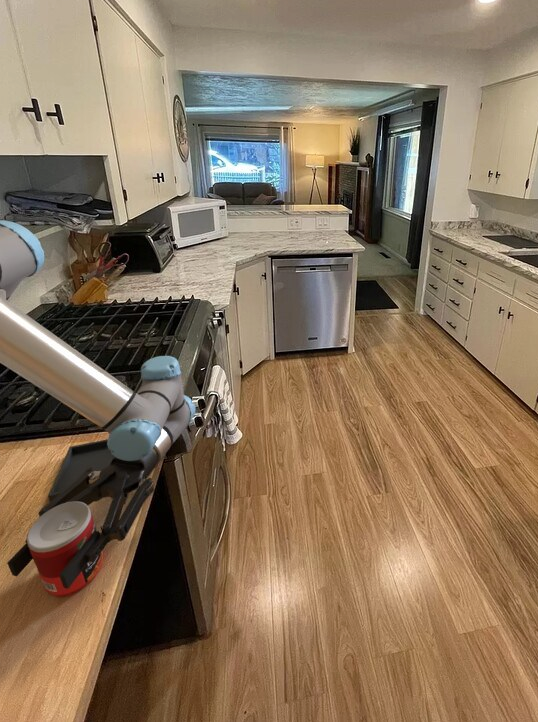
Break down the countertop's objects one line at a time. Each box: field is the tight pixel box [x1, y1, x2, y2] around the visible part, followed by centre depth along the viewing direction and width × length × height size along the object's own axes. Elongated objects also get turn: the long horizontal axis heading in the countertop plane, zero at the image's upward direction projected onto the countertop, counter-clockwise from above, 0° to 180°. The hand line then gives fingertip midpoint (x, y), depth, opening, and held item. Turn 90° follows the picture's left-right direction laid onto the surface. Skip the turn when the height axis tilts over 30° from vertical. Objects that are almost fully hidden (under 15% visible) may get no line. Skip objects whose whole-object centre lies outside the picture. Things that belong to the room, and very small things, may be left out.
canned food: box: [26, 501, 104, 598], centre depth 56 cm, size 8×8×11 cm
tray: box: [47, 438, 114, 503], centre depth 76 cm, size 13×13×2 cm
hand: (37, 575), depth 51 cm, fingers closed on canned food, 8 cm apart
